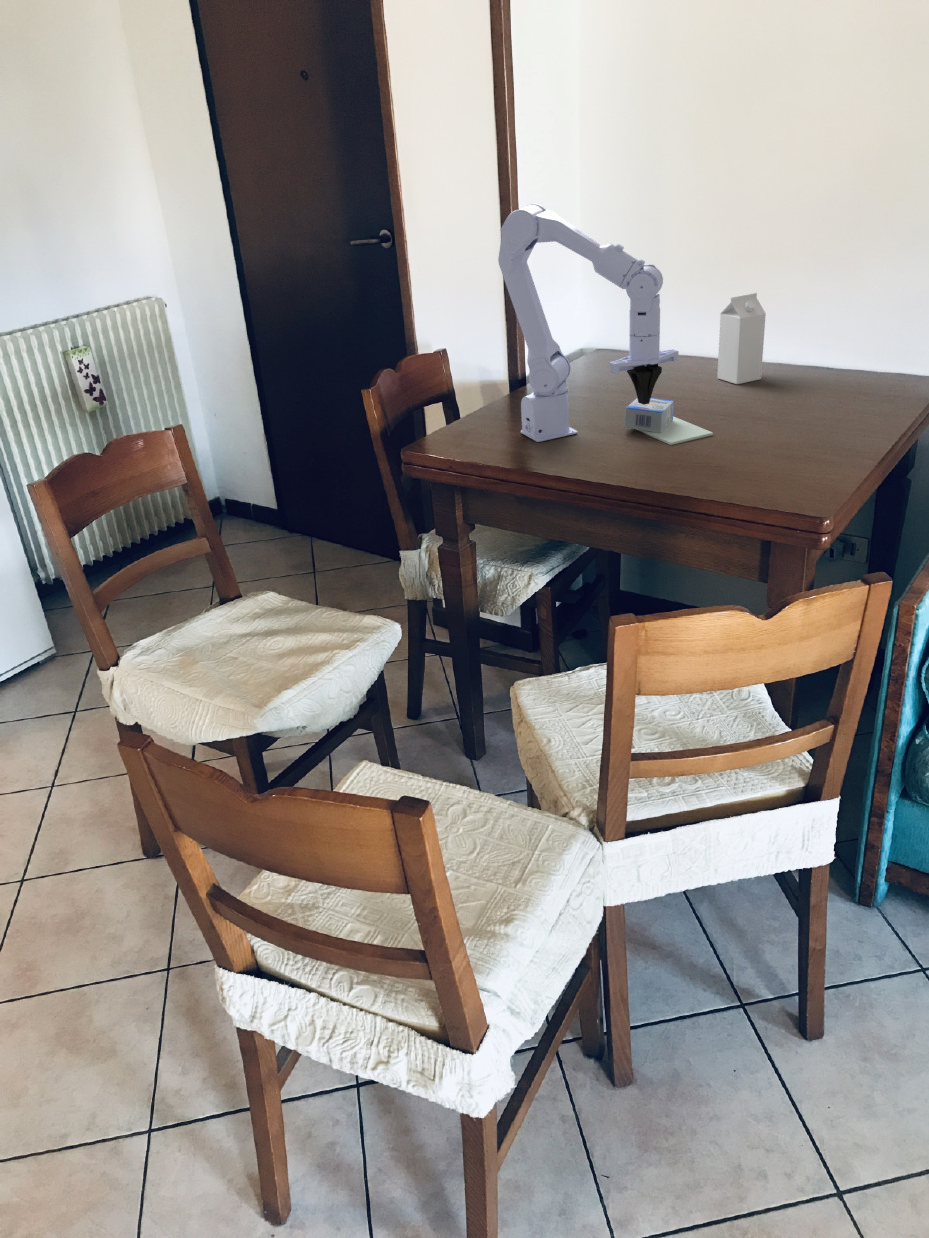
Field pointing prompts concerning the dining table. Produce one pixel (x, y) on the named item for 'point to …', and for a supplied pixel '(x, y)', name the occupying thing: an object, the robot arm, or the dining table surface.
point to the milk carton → (741, 340)
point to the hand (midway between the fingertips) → (643, 403)
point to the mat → (679, 432)
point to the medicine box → (649, 415)
